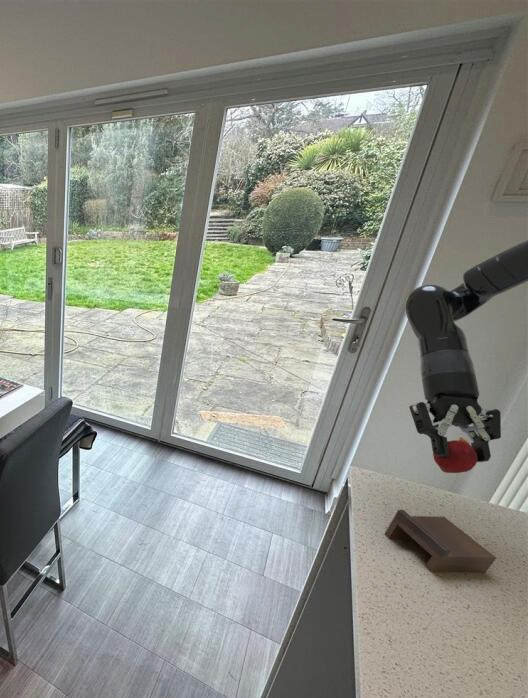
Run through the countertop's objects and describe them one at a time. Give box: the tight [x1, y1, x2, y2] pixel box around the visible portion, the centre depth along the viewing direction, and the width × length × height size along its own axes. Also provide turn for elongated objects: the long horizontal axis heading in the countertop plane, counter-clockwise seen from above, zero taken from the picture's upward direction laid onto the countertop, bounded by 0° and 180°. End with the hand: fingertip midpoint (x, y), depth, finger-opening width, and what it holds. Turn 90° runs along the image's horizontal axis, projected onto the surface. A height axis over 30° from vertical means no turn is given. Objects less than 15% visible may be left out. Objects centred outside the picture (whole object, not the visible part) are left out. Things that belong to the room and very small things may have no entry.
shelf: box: [384, 509, 497, 574], centre depth 78 cm, size 10×10×7 cm
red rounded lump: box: [432, 436, 478, 474], centre depth 79 cm, size 6×6×8 cm
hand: (462, 458), depth 78 cm, fingers closed on red rounded lump, 5 cm apart
